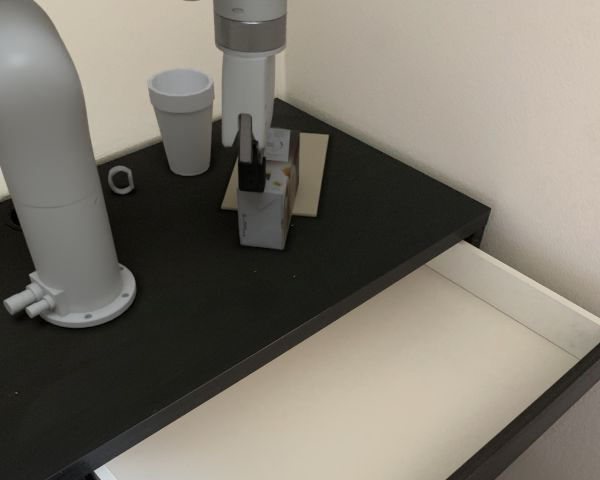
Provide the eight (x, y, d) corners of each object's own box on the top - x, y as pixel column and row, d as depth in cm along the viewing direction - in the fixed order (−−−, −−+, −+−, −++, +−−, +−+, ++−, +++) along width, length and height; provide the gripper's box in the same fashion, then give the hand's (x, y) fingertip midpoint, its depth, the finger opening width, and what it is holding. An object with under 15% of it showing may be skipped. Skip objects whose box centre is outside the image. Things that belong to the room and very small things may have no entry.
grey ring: (111, 197, 98) (106, 172, 95) (109, 189, 100) (105, 165, 97) (135, 194, 99) (131, 169, 96) (134, 186, 100) (130, 162, 97)
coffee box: (285, 194, 84) (301, 127, 94) (235, 189, 84) (256, 123, 94) (284, 251, 91) (299, 183, 101) (238, 246, 91) (258, 179, 101)
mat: (316, 216, 96) (316, 214, 96) (221, 209, 97) (221, 206, 97) (328, 137, 112) (328, 134, 112) (247, 130, 113) (246, 128, 113)
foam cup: (209, 184, 101) (201, 99, 92) (151, 176, 102) (137, 92, 93) (225, 154, 107) (220, 71, 98) (171, 147, 109) (160, 64, 99)
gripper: (226, 1, 74) (231, 156, 87) (201, 54, 64) (211, 219, 77) (293, 6, 73) (288, 161, 87) (278, 60, 64) (275, 225, 77)
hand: (252, 188), depth 82 cm, fingers closed
